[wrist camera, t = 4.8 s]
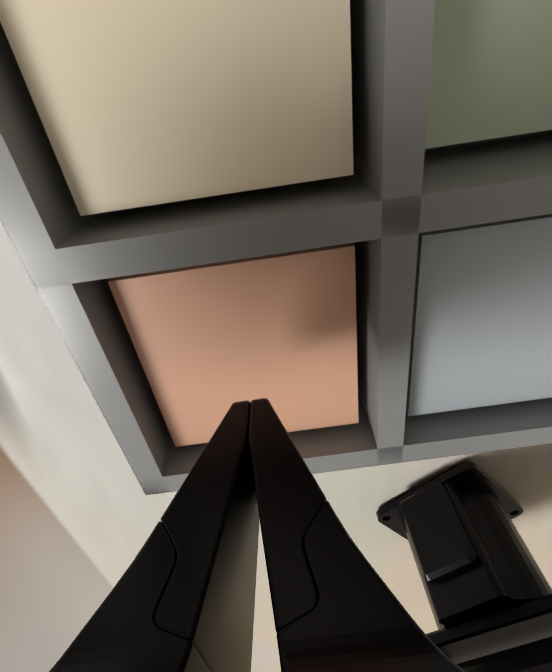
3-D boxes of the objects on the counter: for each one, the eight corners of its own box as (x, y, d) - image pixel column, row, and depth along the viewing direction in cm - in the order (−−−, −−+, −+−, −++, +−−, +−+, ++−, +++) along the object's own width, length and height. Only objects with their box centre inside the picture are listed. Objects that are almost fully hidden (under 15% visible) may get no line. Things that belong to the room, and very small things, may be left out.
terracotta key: (348, 391, 14) (358, 422, 13) (182, 414, 14) (175, 446, 13) (342, 225, 10) (354, 245, 9) (124, 257, 11) (107, 281, 9)
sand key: (340, 162, 10) (353, 174, 8) (102, 198, 10) (80, 215, 9) (325, -237, 6) (343, -316, 5) (-35, -171, 6) (-104, -230, 5)
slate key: (566, 362, 14) (598, 391, 12) (394, 385, 14) (408, 416, 13) (630, 183, 10) (683, 198, 9) (402, 217, 10) (422, 236, 9)
